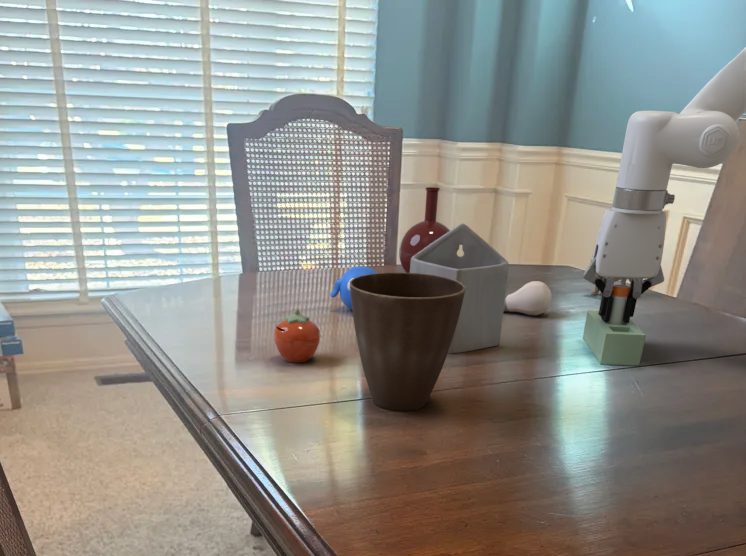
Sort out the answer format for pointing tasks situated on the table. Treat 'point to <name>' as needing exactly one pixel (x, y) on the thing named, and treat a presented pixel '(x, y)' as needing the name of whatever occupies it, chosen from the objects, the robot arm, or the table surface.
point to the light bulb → (529, 299)
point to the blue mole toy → (344, 283)
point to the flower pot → (404, 333)
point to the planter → (469, 284)
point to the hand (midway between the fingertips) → (614, 319)
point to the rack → (613, 341)
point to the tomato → (296, 338)
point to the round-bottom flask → (422, 231)
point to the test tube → (618, 304)
